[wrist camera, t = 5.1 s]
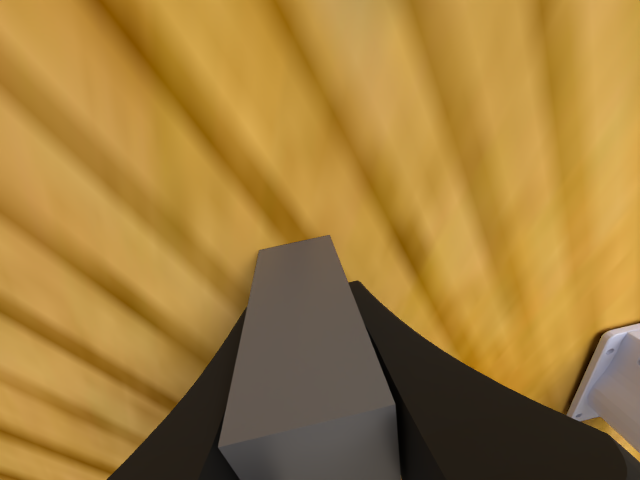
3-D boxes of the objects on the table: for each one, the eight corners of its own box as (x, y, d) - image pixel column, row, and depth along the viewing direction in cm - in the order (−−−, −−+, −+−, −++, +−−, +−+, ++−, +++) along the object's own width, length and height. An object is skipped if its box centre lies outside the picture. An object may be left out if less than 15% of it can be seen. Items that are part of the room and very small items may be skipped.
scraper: (223, 257, 10) (126, 469, 4) (364, 227, 10) (481, 383, 4) (316, 485, 20) (330, 657, 13) (390, 466, 20) (439, 627, 13)
